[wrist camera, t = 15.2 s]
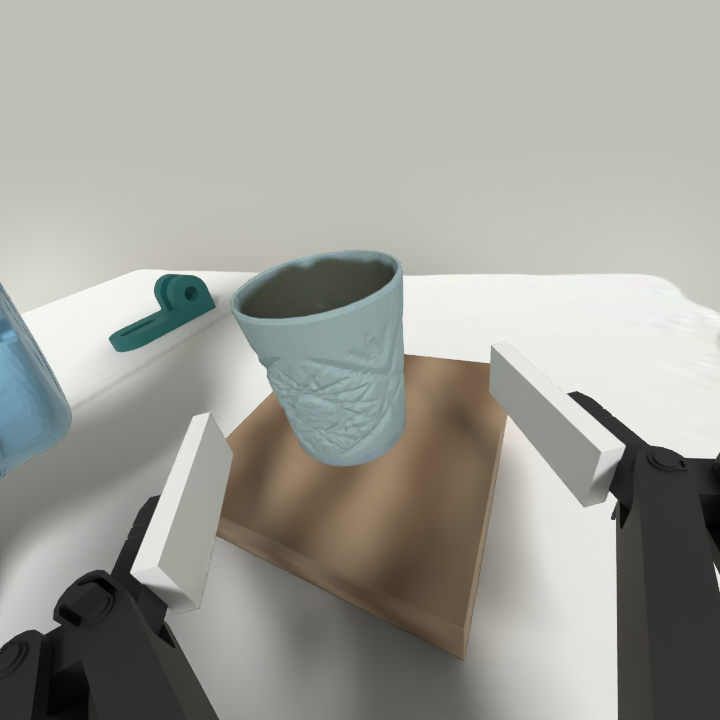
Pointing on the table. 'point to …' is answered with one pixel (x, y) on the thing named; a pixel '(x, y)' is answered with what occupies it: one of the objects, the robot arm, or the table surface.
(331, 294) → the blue green cup
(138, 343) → the bracket
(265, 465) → the walnut riser
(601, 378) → the table surface
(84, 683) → the robot arm
